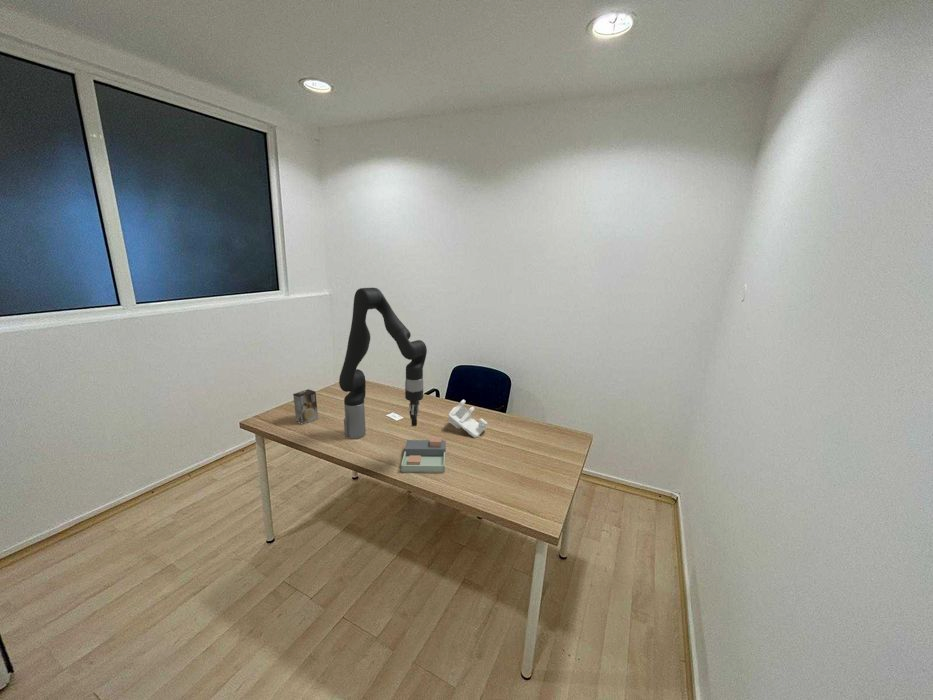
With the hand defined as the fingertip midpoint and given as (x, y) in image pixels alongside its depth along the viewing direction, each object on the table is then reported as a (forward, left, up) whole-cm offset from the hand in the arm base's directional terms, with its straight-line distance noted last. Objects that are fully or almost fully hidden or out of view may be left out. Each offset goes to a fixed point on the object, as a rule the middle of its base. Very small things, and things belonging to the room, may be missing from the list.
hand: (414, 425), depth 152 cm
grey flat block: (+5, +5, -16) cm, 18 cm away
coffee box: (-61, +36, -16) cm, 73 cm away
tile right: (+9, +6, -12) cm, 16 cm away
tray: (+5, -5, -16) cm, 17 cm away
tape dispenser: (+24, +28, -17) cm, 40 cm away
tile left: (+1, -5, -13) cm, 14 cm away
